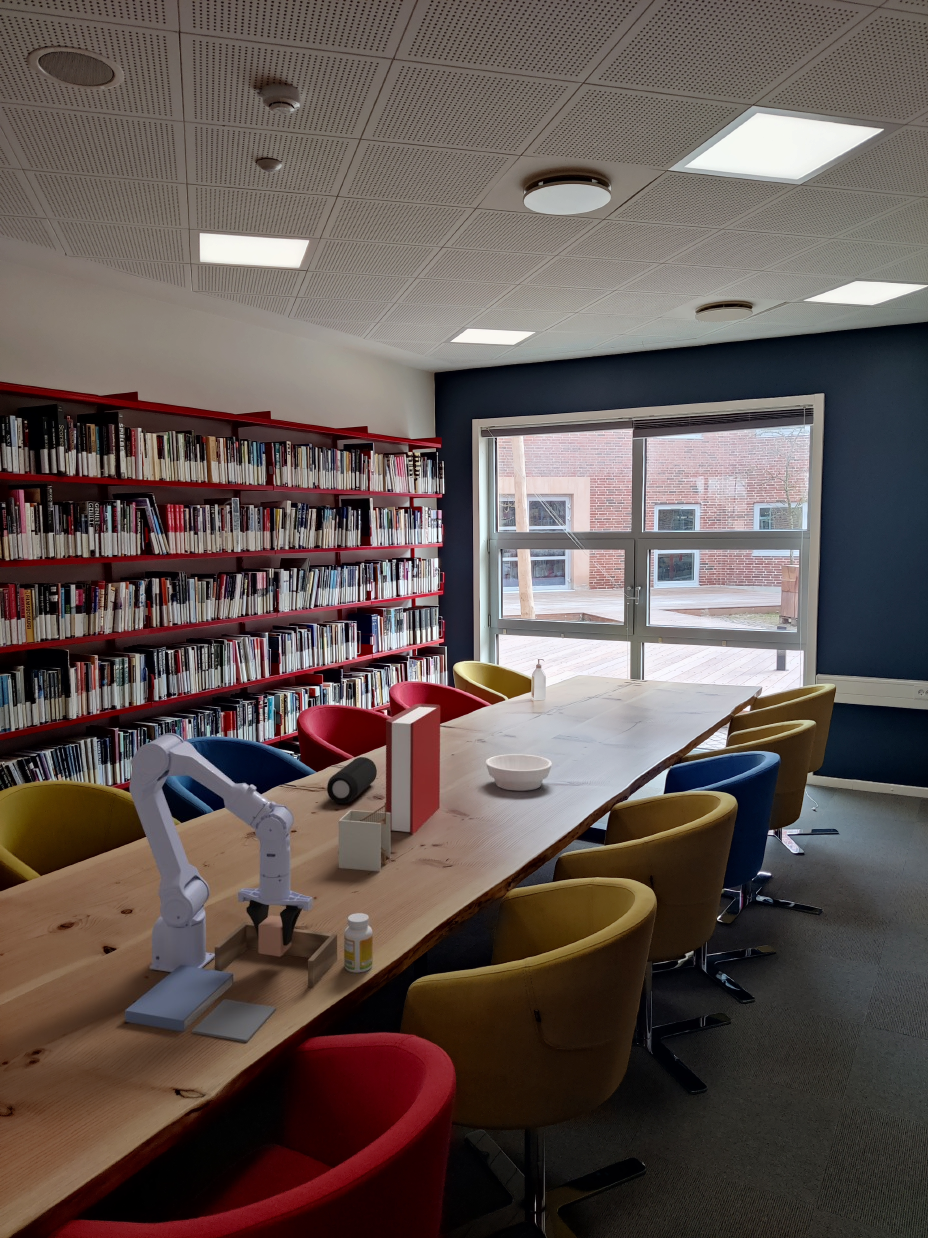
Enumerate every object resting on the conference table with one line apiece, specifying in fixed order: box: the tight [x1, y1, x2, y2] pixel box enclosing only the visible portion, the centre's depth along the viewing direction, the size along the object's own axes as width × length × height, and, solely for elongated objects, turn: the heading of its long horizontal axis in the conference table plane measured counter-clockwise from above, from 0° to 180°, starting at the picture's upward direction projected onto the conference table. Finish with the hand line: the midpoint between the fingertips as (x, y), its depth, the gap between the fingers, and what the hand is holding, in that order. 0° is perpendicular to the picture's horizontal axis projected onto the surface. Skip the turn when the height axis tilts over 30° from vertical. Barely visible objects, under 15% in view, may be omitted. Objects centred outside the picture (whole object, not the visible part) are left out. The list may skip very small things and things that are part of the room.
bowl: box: [485, 753, 553, 792], centre depth 284 cm, size 22×22×8 cm
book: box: [385, 703, 441, 836], centre depth 247 cm, size 27×8×32 cm, turn 165°
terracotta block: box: [258, 914, 291, 957], centre depth 159 cm, size 4×4×6 cm
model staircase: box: [338, 801, 391, 872], centre depth 212 cm, size 9×11×17 cm
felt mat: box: [191, 998, 277, 1043], centre depth 141 cm, size 10×10×1 cm
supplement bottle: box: [343, 912, 374, 974], centre depth 160 cm, size 5×5×10 cm
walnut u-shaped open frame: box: [214, 921, 338, 988], centre depth 160 cm, size 20×11×5 cm, turn 75°
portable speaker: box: [326, 756, 378, 805], centre depth 272 cm, size 26×10×10 cm, turn 169°
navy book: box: [124, 965, 234, 1032], centre depth 147 cm, size 16×11×2 cm
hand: (275, 941), depth 159 cm, fingers closed on terracotta block, 4 cm apart
